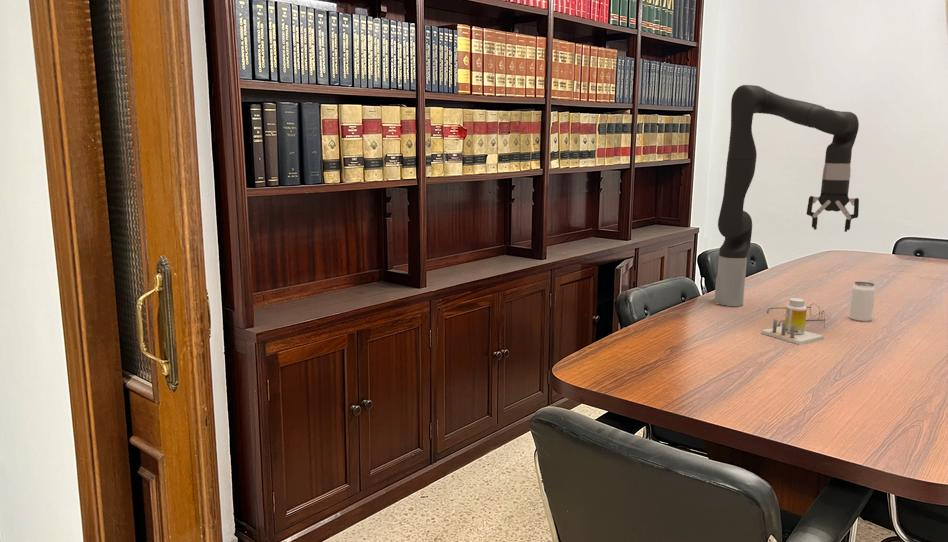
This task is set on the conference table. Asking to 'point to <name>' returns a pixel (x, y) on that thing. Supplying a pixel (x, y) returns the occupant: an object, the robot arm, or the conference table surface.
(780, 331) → the header board
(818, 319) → the eyeglasses
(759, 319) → the conference table surface
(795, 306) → the supplement bottle
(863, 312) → the can
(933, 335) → the conference table surface
